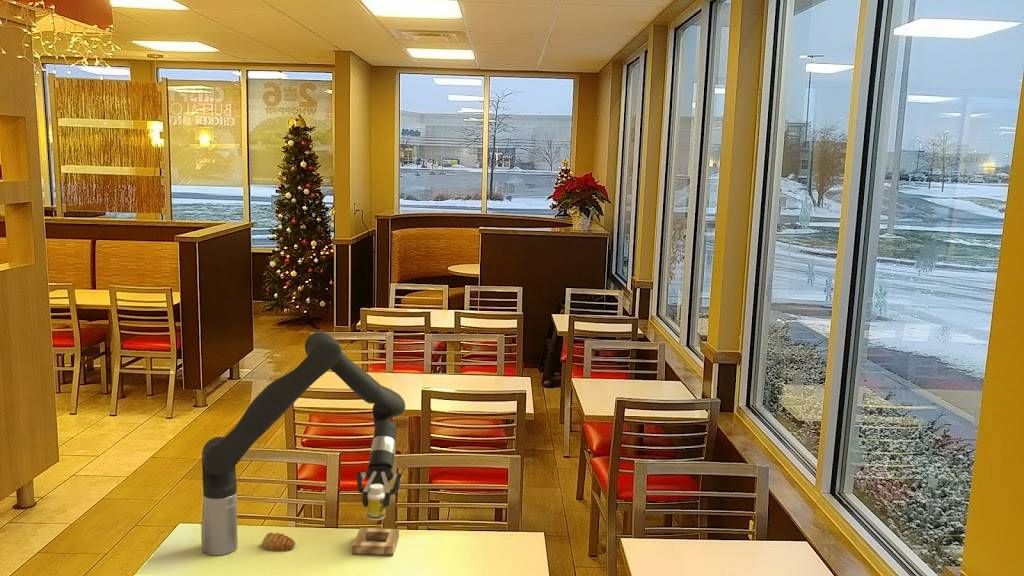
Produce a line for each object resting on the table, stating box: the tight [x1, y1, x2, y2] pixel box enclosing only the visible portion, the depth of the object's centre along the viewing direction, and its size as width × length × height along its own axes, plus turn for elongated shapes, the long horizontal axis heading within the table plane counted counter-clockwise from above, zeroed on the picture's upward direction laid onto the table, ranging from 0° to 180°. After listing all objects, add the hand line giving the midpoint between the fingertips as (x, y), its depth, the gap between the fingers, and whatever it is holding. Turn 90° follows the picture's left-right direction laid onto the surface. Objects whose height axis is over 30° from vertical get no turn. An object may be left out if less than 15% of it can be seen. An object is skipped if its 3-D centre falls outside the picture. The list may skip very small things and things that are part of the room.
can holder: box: [351, 527, 400, 557], centre depth 241 cm, size 12×12×3 cm
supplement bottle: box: [366, 484, 386, 521], centre depth 240 cm, size 5×5×10 cm
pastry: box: [261, 532, 296, 552], centre depth 239 cm, size 9×7×4 cm
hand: (375, 506), depth 238 cm, fingers closed on supplement bottle, 5 cm apart
